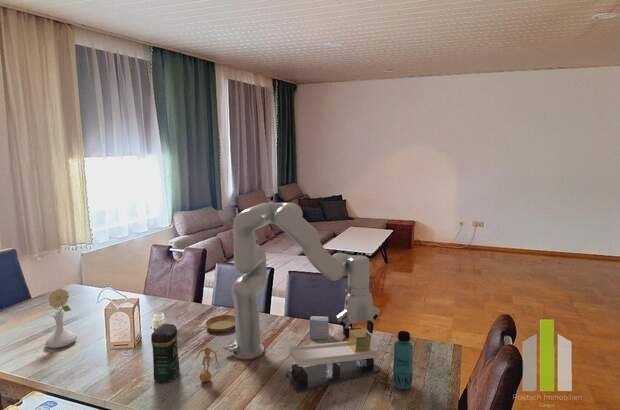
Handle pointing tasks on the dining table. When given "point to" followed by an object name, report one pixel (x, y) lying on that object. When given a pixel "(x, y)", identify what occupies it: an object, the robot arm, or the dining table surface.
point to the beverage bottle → (403, 361)
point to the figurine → (206, 374)
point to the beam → (327, 354)
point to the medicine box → (319, 327)
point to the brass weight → (359, 340)
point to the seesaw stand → (329, 373)
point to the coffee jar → (165, 353)
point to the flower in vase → (60, 320)
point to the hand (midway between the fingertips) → (358, 334)
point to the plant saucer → (221, 323)
